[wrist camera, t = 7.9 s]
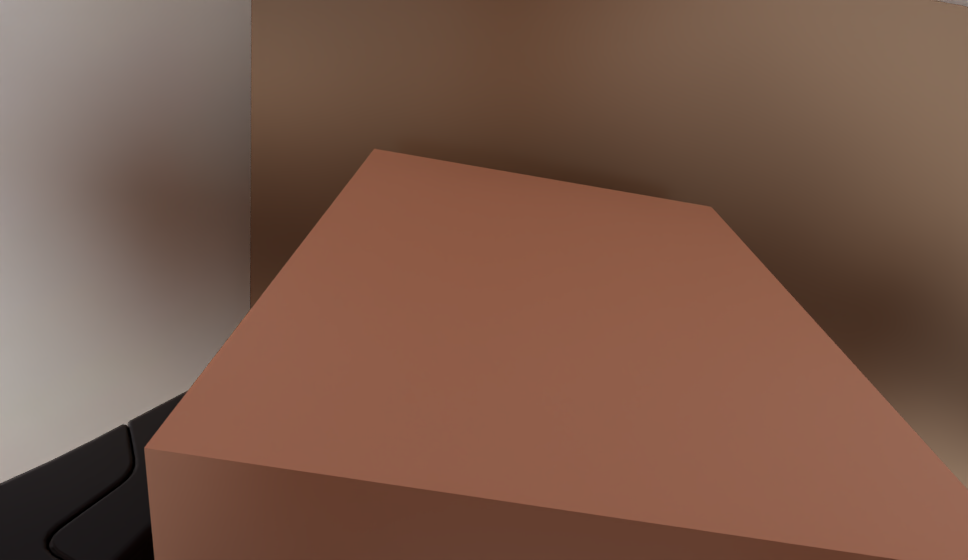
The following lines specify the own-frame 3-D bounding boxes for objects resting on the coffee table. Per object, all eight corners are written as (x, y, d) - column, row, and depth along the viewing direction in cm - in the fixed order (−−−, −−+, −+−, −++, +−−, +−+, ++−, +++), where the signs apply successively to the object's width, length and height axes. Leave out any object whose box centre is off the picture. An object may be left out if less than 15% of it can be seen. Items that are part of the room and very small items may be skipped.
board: (1105, 572, 16) (1148, 614, 15) (267, 446, 15) (249, 482, 14) (1508, 116, 11) (1616, 131, 10) (278, -120, 10) (252, -132, 9)
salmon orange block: (622, 463, 12) (742, 955, 6) (349, 422, 12) (185, 889, 6) (711, 206, 10) (1051, 581, 4) (374, 148, 9) (143, 448, 3)
